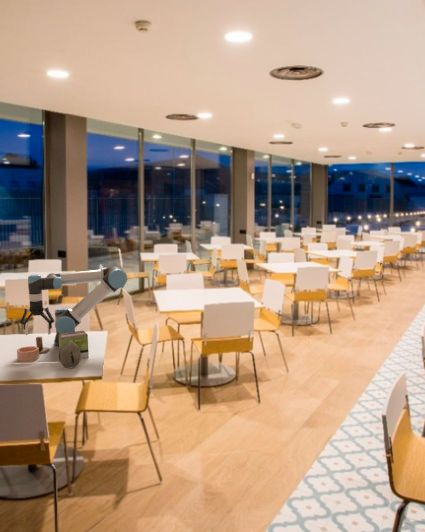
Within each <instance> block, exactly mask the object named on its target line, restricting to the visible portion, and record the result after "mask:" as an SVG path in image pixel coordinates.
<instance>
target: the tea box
mask: <svg viewBox="0 0 425 532" xmlns="http://www.w3.org/2000/svg"><path fill="white" fill-rule="evenodd" d="M69 341H70V342H74V343H75V344H76V345H77V346H78V348H79V350H80V354H81V358H80V360H82V359H88V358H89V354H90V353H89V336H88V333H87V332H86V331H85V330H77V331H76V330H75V332H69V333H61V334H59V346H58V347H59V348H58V349H59V351H60V348H61V346H62V345H63V344H64V343H65V342H69ZM59 351H58V352H59Z"/></svg>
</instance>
